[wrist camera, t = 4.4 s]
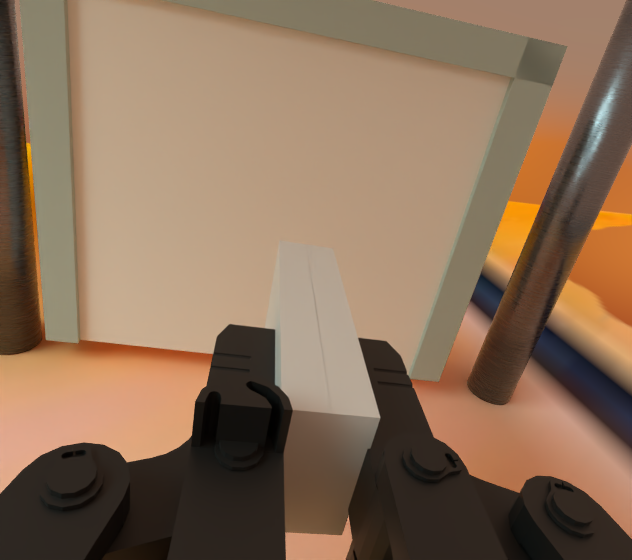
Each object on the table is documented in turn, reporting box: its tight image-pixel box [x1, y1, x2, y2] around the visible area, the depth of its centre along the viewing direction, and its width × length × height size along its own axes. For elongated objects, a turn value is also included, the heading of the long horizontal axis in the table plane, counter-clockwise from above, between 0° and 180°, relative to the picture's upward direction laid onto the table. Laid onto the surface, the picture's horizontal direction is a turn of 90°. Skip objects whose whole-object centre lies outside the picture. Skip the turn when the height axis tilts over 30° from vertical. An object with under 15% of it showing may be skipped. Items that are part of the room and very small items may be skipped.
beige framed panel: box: [20, 0, 567, 382], centre depth 20 cm, size 19×2×16 cm, turn 95°
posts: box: [0, 0, 632, 404], centre depth 20 cm, size 27×2×20 cm, turn 95°
